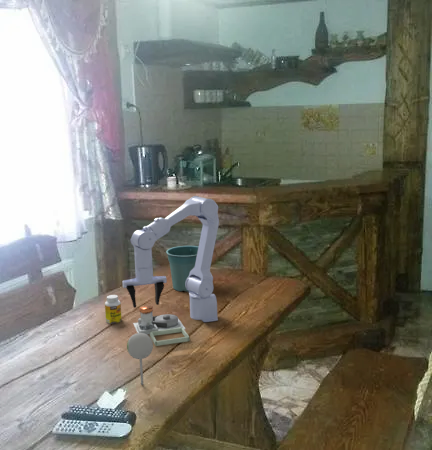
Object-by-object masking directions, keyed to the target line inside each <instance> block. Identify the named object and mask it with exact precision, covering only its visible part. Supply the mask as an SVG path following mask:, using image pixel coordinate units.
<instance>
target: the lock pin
mask: <svg viewBox="0 0 432 450" xmlns="http://www.w3.org/2000/svg"><path fill="white" fill-rule="evenodd" d="M138 309H139V310H138V311H139V313H140V318H141V330H149V329H153V312H154V307H153V306H152V305H142V306H140V307H139V308H138Z"/></svg>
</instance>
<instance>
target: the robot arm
mask: <svg viewBox="0 0 432 450" xmlns="http://www.w3.org/2000/svg"><path fill="white" fill-rule="evenodd" d="M218 211H219V206H218V204H217V203H216V201H215V199H212V198H206V197H202V196H199V195H194V196H192V197H190V198H189V199H186V200H185V202H184V203H183V204H182V205H180V206H179V207H178V208H177V209H175V210H174V211H172V212H171V213H169V215H167V216H166V217H165V218H164V217H156V218H154V219H153V221H152V222H150V224H148V225H144V226H143V227H142V229H137V230H135V231H134V232H133V233H132V236H131V238H130V239H129V240H130V244H131V246H133V250H134V252H133V253H134V255H133V256H134V267H135V268H134V271H135V277H134V278H131V279H124V280H122V282H121V283H122V288H125V289H126V290H127V291H128V293H129V296H130V299H131V303H132V306H133V308H137V301H136V289H135V287H137V286H145V285H146V286H147V285H154V295H155V297H154V298H155V299H154V300H155V304H156V305H157V306H158V305H160V299H161V294H162V292H163V290H164V288H165V284H166V283H167V282H168V281H167V277H166V275H162V276H161V275H160V276H159V275H158V276H157V275H155V276H154V272H153V268H154V267H153V251H152V248H153V247H154V246H155V243H156V242H157V241H158V240H160V239H161V238H163V237H164V236H165V235H167V234H168V233H170V232H171V227H172V226H174V225H175V224H177V223H179V222H181V221H182V220H184V219H186V218H188V217H189V216H195V217H197V219H198V220H199V221H200V223H201V224H202V226H201V227H202V228H201V232H200V236H199V237H200V238H199V243H198V252H197V257H196V263H195V267H194V268H193V269H192V270H191V271H190V273H189V276H188V278H187V280H186V283H185V286H186V289H187V290H188V291H189V292H188V294H189V313H190V314H189V317H190V318H191V320H195V321H197V320H198V321H202V322H203V323H210V322H216V321H219V319H218V302H217V301H218V300H217V296H216V294H215V293H213V292H214V283H213V281H214V276H213V275H212V272H211V265H212V260H213V255H214V250H215V245H216V239H217V234H218V229H219V224H220V220H219V213H218Z"/></svg>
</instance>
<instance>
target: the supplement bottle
mask: <svg viewBox="0 0 432 450" xmlns="http://www.w3.org/2000/svg"><path fill="white" fill-rule="evenodd" d="M121 305H122V304H121V301H120V300H119V296H118V295H117V294H110V295H107V296H106V301H105V302H104V311H105V312H104V313H105V315H104V316H105V323H106V324H111V325H112V324H118V323H121V322H122V318H123V317H122V306H121Z"/></svg>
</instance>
